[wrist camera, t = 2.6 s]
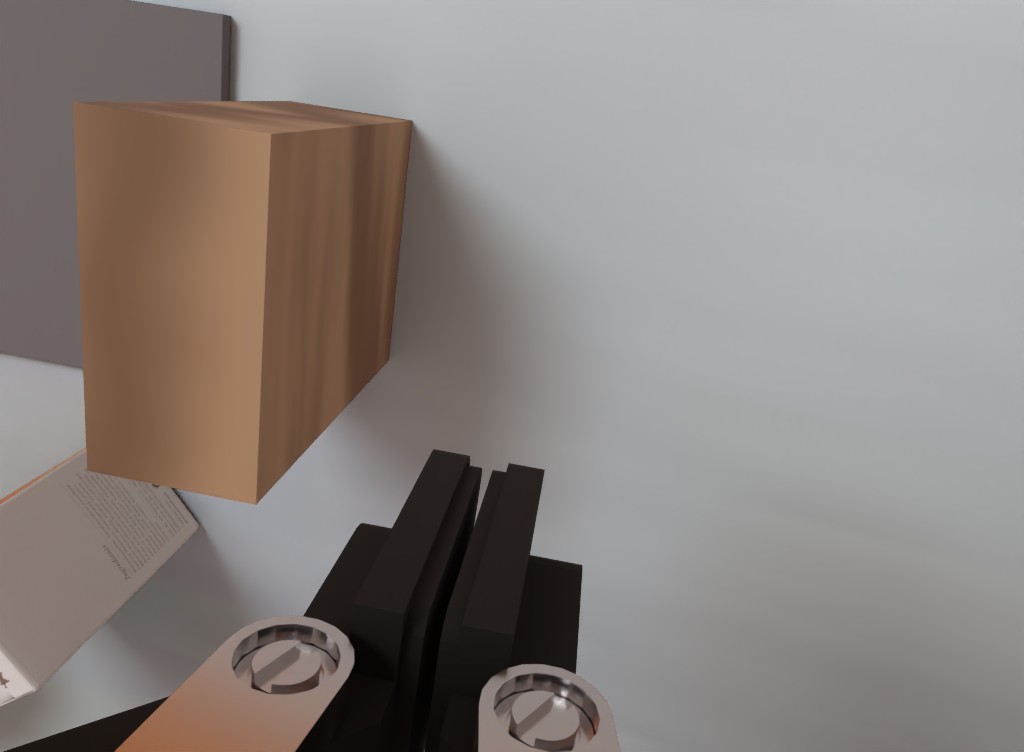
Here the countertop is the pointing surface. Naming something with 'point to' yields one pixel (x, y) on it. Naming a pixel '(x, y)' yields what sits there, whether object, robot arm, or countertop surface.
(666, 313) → the countertop surface
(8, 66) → the mat
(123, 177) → the slab
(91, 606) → the small box
